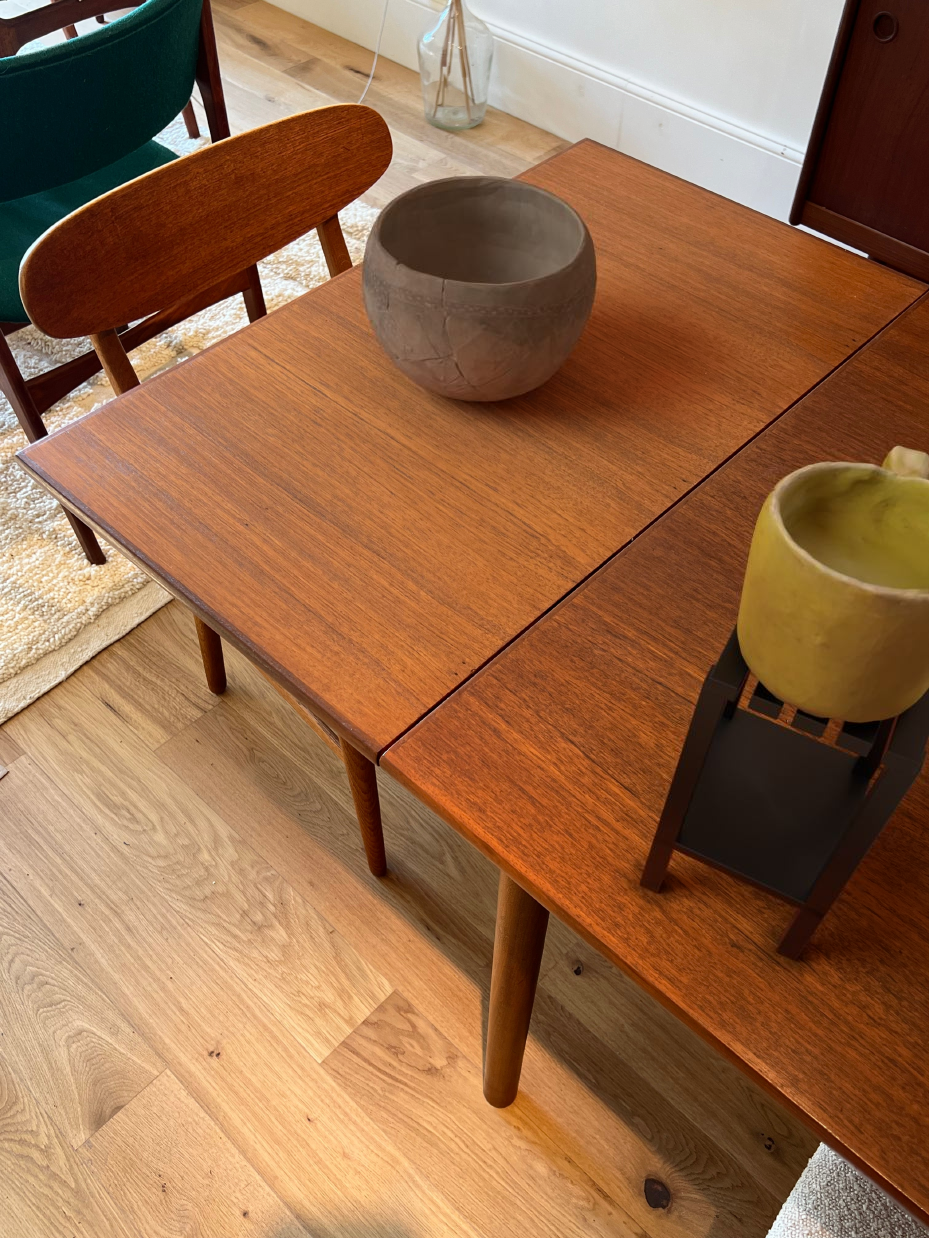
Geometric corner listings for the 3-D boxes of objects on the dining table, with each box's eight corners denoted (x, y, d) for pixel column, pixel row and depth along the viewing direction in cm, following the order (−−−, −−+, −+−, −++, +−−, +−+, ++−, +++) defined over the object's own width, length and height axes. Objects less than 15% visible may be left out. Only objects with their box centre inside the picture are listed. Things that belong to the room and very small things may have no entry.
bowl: (591, 442, 89) (612, 289, 77) (359, 437, 89) (346, 284, 78) (578, 313, 103) (594, 167, 91) (377, 308, 103) (368, 163, 91)
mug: (920, 788, 39) (956, 558, 34) (691, 706, 45) (695, 502, 41) (1022, 655, 47) (1063, 451, 42) (813, 600, 53) (828, 418, 48)
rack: (844, 817, 64) (974, 598, 48) (794, 963, 58) (925, 766, 42) (700, 754, 67) (778, 529, 51) (637, 886, 61) (704, 675, 45)
